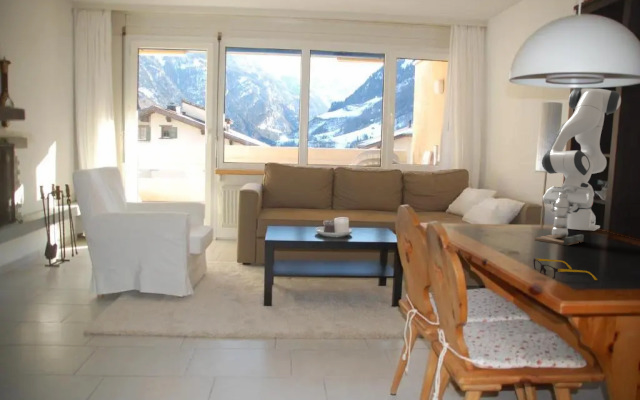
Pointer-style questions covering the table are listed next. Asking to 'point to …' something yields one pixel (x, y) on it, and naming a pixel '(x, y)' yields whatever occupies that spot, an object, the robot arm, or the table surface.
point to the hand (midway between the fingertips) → (561, 211)
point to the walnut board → (563, 241)
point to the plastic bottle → (561, 216)
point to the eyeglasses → (558, 269)
